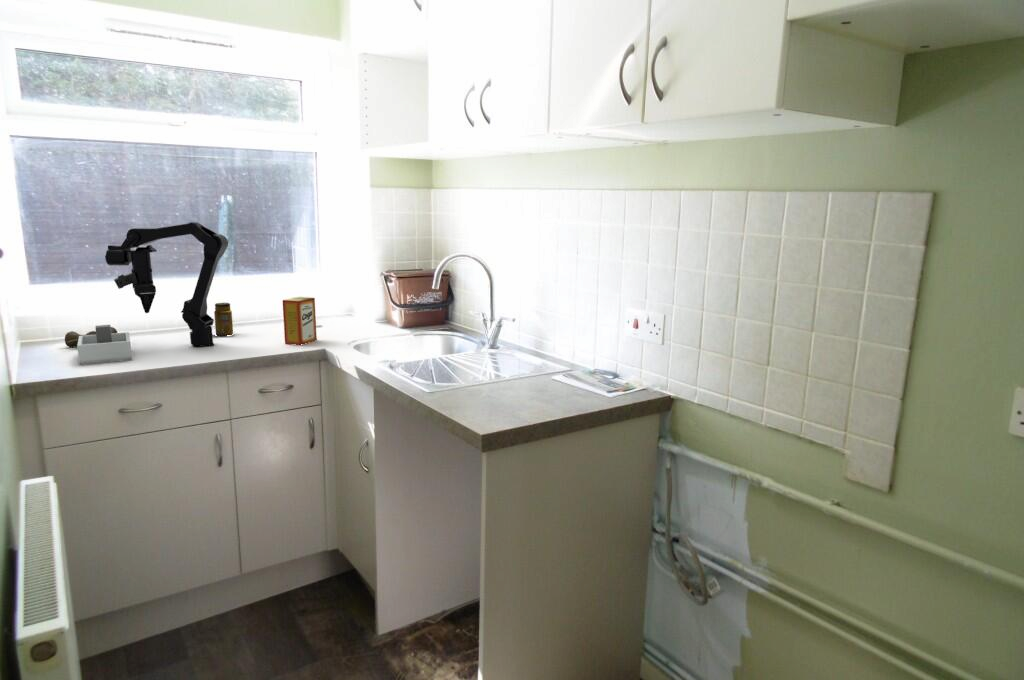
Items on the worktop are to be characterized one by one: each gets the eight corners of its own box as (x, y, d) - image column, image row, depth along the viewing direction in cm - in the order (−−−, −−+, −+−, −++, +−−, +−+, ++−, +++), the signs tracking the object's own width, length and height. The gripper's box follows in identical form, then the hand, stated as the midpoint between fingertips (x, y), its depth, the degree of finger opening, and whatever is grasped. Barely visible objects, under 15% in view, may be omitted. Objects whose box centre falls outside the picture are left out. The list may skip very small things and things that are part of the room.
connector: (113, 352, 217) (110, 324, 215) (113, 354, 214) (110, 326, 212) (98, 353, 215) (95, 325, 213) (98, 355, 212) (95, 327, 210)
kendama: (125, 342, 242) (80, 351, 222) (102, 341, 243) (55, 351, 224) (123, 325, 241) (78, 333, 221) (100, 325, 242) (53, 333, 223)
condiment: (236, 333, 257) (233, 301, 255) (232, 337, 249) (229, 305, 247) (215, 333, 256) (213, 302, 253) (211, 337, 247) (208, 305, 245)
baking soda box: (300, 345, 235) (298, 300, 232) (285, 344, 237) (282, 299, 234) (316, 340, 244) (314, 296, 241) (301, 339, 246) (299, 295, 243)
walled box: (130, 349, 226) (128, 332, 225) (132, 360, 211) (130, 341, 209) (81, 353, 219) (79, 335, 218) (79, 365, 204) (77, 345, 202)
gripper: (113, 264, 231) (118, 309, 234) (114, 268, 216) (119, 316, 219) (150, 263, 237) (154, 307, 240) (153, 267, 221) (158, 314, 224)
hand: (146, 311), depth 231 cm, fingers open, 9 cm apart
